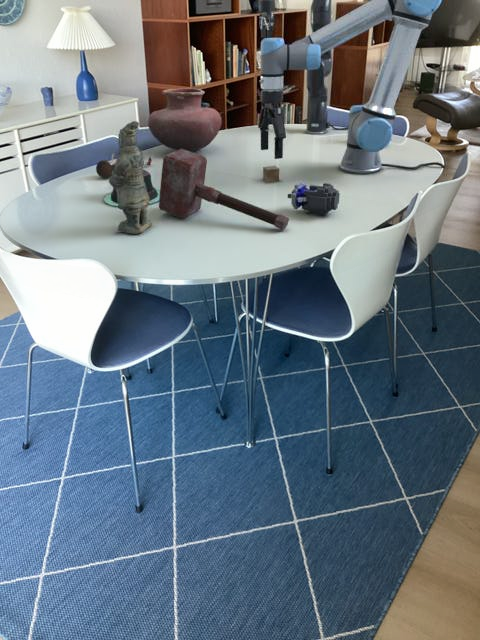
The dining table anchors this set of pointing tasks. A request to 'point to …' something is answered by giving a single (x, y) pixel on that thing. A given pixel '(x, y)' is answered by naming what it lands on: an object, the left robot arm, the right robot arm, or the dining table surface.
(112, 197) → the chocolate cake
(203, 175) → the sledgehammer
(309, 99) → the left robot arm
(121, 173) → the statue
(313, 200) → the toy
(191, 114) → the clay pot
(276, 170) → the block
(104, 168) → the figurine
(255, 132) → the dining table surface
